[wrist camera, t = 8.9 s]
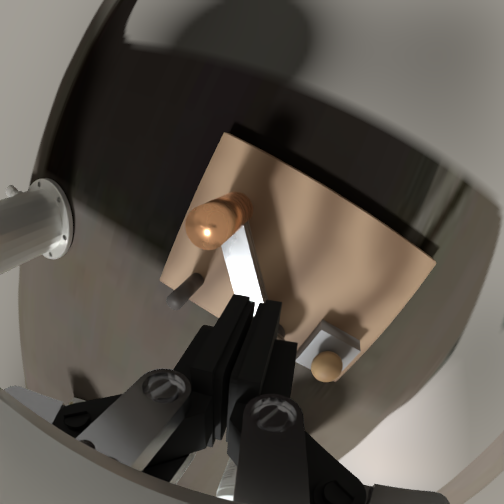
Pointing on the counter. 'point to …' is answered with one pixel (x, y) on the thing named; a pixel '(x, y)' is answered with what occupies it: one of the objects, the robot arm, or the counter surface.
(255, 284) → the lever
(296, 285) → the board
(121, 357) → the counter surface
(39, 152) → the counter surface
